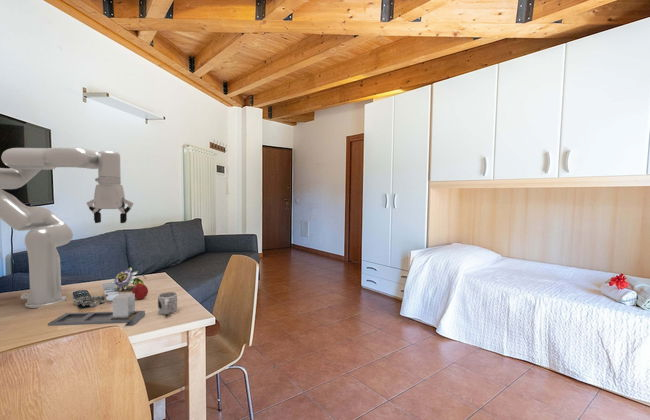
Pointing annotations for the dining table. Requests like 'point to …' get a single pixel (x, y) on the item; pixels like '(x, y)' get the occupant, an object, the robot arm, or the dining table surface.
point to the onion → (140, 291)
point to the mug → (167, 303)
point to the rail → (94, 318)
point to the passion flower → (126, 279)
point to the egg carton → (88, 300)
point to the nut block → (123, 306)
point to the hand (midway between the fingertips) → (110, 222)
